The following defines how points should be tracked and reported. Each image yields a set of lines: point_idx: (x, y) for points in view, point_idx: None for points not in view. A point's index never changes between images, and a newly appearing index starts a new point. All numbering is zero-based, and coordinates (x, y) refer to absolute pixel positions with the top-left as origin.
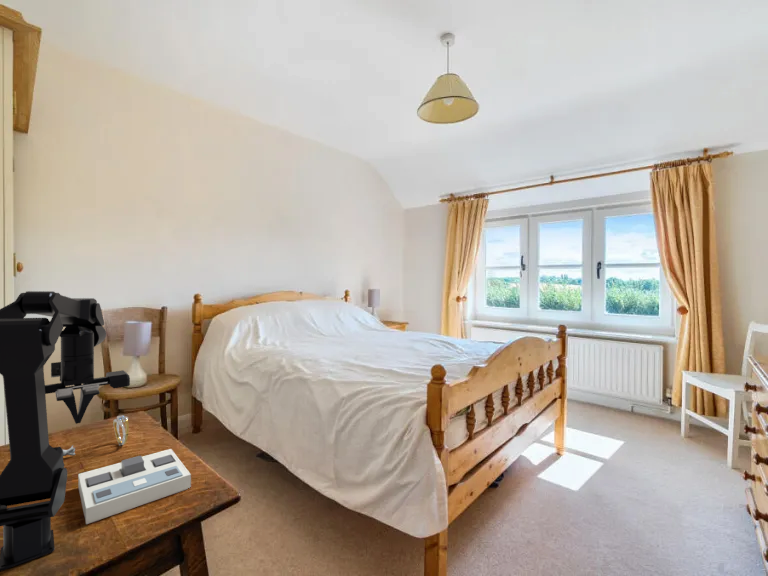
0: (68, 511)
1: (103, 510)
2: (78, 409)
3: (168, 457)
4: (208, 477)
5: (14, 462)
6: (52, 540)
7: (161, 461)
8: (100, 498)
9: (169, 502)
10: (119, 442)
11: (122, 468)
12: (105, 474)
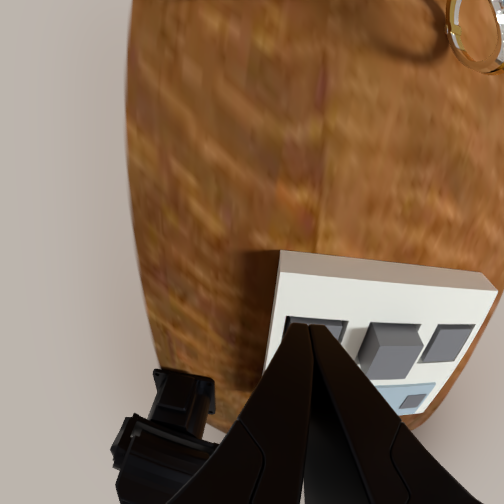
0: (242, 340)
1: None
2: (330, 406)
3: (460, 341)
4: (450, 379)
5: None
6: (212, 401)
7: (441, 350)
8: None
9: None
10: (451, 31)
11: (370, 345)
12: (332, 333)
